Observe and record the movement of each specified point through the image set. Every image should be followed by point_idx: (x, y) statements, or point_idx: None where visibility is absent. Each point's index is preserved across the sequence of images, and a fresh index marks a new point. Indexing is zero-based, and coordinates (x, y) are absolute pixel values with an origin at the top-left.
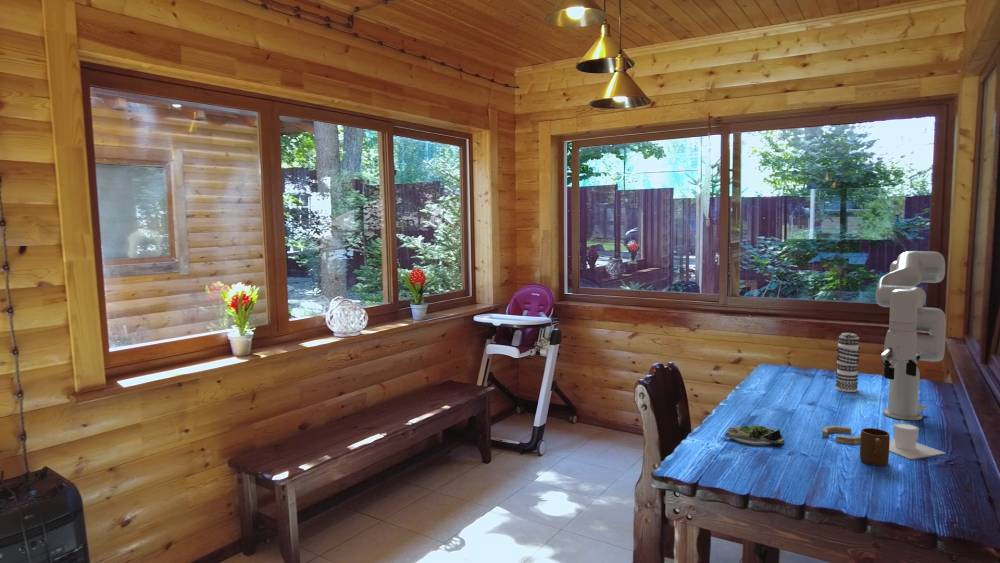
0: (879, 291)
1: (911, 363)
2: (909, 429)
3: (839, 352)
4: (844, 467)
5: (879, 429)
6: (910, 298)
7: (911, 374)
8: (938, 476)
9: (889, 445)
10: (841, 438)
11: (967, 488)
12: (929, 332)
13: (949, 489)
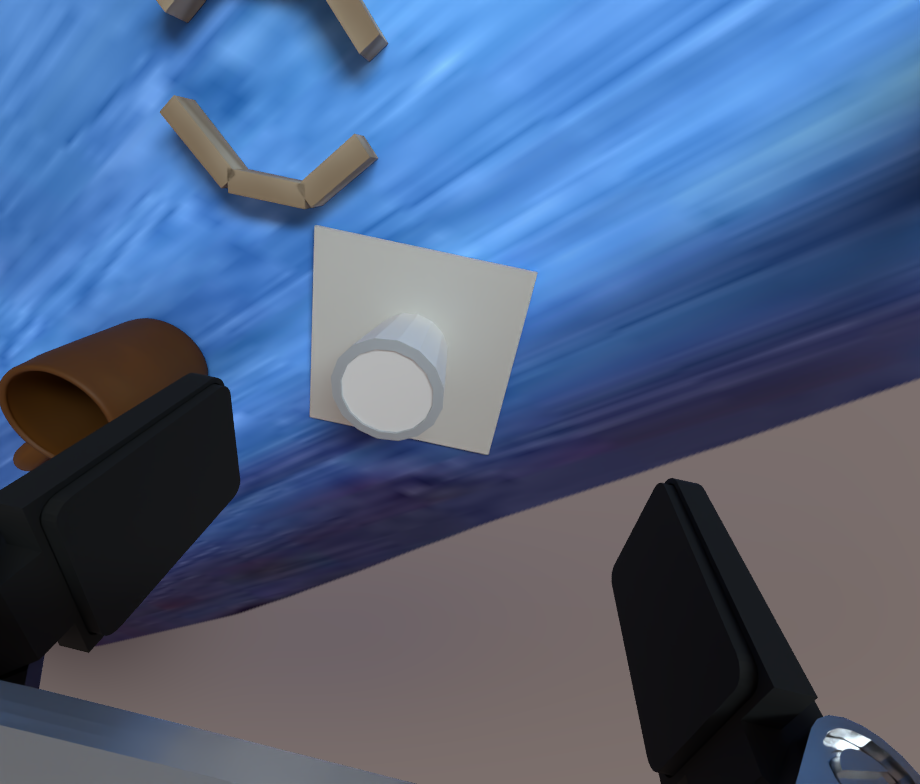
0: None
1: (713, 768)
2: (354, 422)
3: None
4: (20, 338)
5: (105, 412)
6: None
7: (627, 559)
8: (266, 512)
9: (369, 303)
10: (185, 139)
11: (264, 570)
12: None
13: (214, 553)
